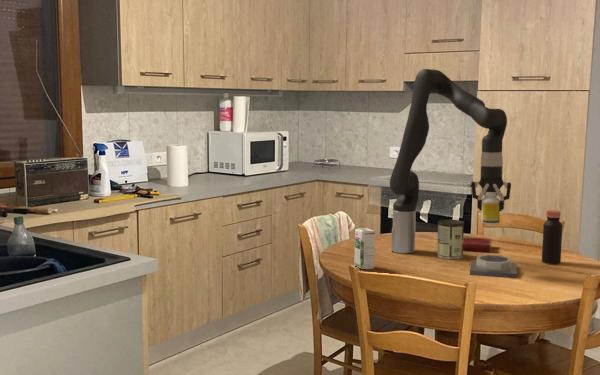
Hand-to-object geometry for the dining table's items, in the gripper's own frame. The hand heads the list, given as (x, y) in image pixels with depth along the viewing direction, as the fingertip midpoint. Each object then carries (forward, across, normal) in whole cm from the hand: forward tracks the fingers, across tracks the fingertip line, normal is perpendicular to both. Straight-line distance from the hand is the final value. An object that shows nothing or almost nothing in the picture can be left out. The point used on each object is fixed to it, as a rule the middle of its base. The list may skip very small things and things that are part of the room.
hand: (490, 210), depth 232 cm
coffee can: (+22, -16, +18) cm, 33 cm away
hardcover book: (+23, -11, +35) cm, 43 cm away
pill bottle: (+5, 0, 0) cm, 5 cm away
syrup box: (+22, -44, -10) cm, 51 cm away
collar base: (+22, +1, +1) cm, 22 cm away
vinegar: (+23, +22, +20) cm, 38 cm away
